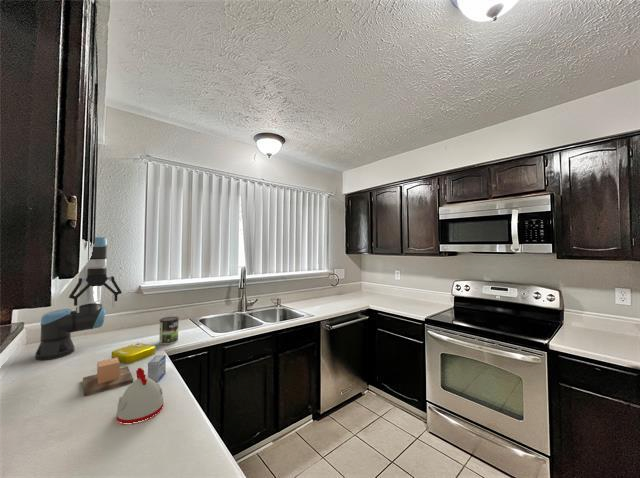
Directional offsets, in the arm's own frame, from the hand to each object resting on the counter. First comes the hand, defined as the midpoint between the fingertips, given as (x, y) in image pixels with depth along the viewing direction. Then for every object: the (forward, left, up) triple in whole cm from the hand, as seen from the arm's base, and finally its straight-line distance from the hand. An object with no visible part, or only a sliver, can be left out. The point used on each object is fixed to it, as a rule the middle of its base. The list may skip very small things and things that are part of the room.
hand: (96, 310), depth 134 cm
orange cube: (+12, -24, -25) cm, 37 cm away
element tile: (+16, +4, -27) cm, 32 cm away
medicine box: (+31, -28, -27) cm, 50 cm away
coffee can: (+30, +21, -27) cm, 45 cm away
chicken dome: (+30, -54, -27) cm, 67 cm away
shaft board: (+12, -24, -27) cm, 38 cm away
